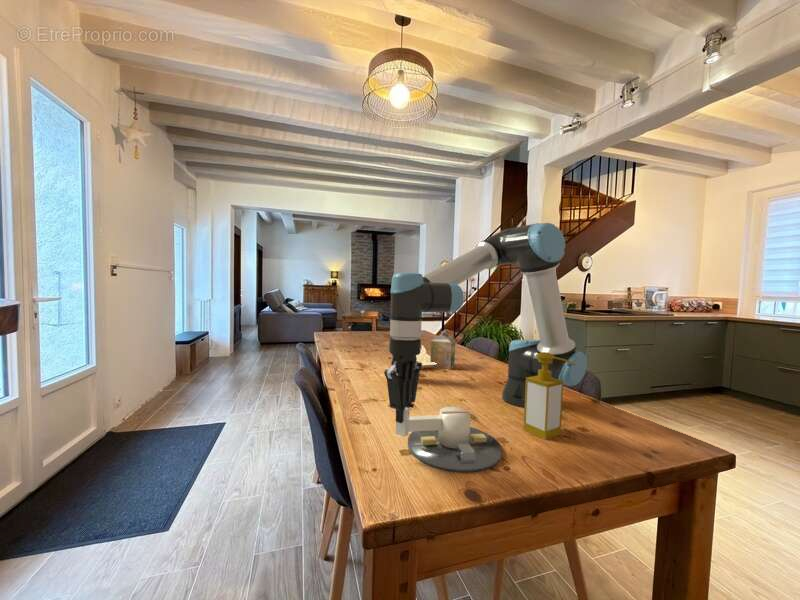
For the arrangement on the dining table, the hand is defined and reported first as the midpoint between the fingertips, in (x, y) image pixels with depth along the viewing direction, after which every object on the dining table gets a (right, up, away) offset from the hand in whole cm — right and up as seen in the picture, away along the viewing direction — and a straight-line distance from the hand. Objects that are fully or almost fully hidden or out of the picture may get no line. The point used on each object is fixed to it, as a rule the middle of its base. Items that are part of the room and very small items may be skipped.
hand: (401, 433), depth 79 cm
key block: (+11, -4, +6) cm, 14 cm away
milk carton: (+22, -3, +93) cm, 95 cm away
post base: (+14, -6, +6) cm, 16 cm away
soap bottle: (+43, -7, +14) cm, 45 cm away
